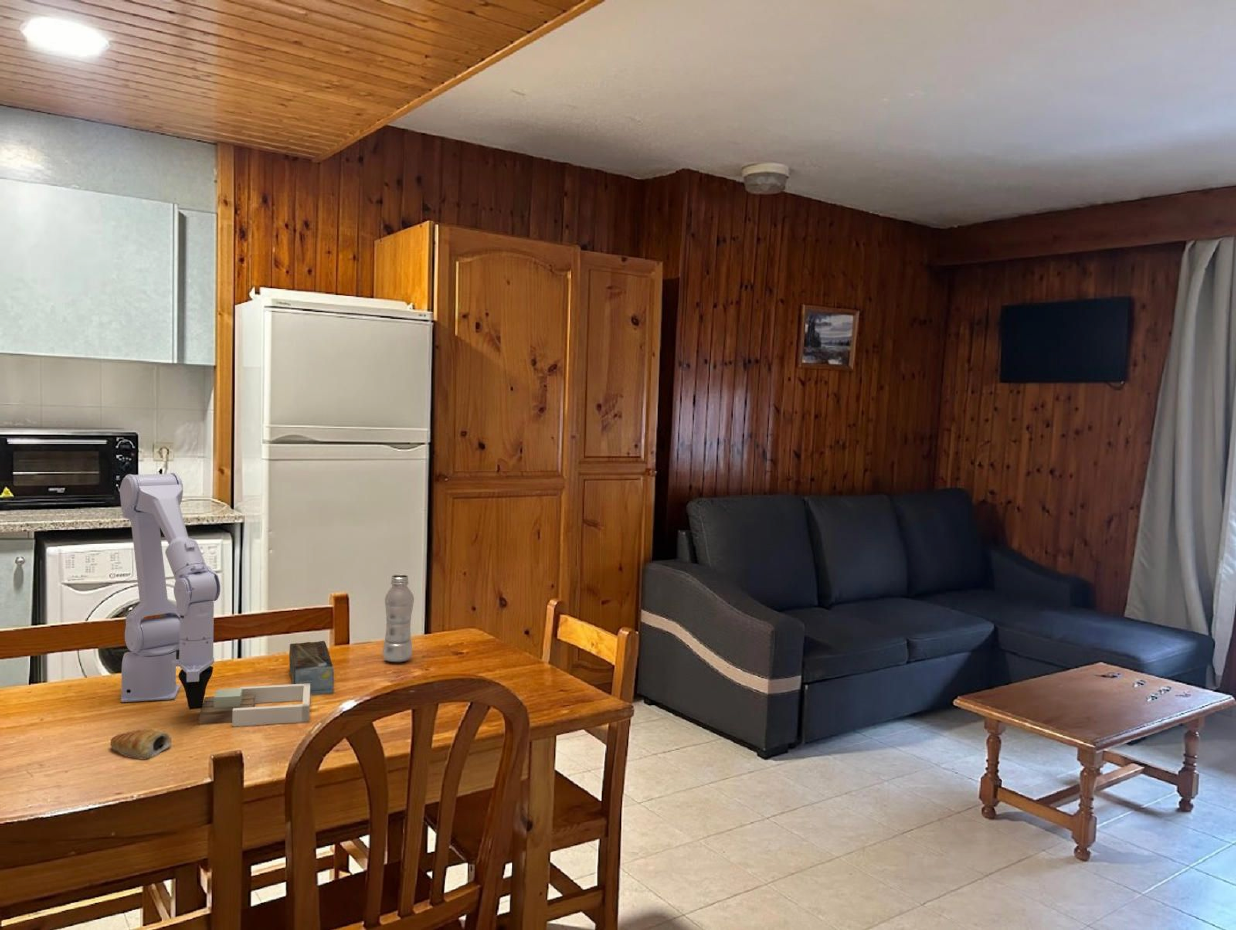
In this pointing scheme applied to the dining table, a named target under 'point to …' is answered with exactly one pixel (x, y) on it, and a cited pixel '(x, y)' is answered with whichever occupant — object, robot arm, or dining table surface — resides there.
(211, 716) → the pallet
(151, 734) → the pastry
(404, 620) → the plastic bottle
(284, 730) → the dining table surface
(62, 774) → the dining table surface
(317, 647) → the beverage carton
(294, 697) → the dock
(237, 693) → the pale green block
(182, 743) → the dining table surface
